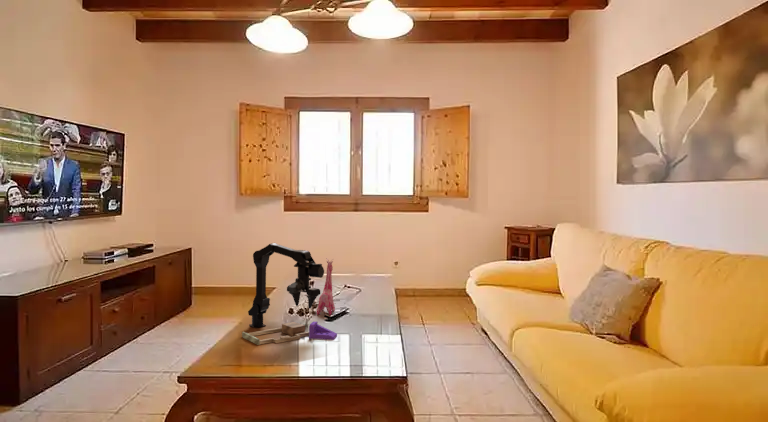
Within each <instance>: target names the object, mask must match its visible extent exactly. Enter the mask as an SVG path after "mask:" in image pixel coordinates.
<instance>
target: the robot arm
mask: <svg viewBox="0 0 768 422" xmlns="http://www.w3.org/2000/svg"><path fill="white" fill-rule="evenodd" d="M274 253H276V254H279V255H281V256H285V257H288V258H291V259H292V260H293V261H295V262H296V263H295V264H294V265H293V267H295V268H297V277H296V278H295V279H294V280H295V282H292V283H291V284H289V285H288V286H287V287H286V291H287V292H288V294H290V295H291V296H292V298H293V302H294V304H295V307H299V303H300V298H301V292H302V293H305V294H306V298H307V302H308V303H307V304H308V305H307V307H308V309H309V310H310V309H312V306H313V305H314V302H315V300H316V299H317V297H320V296H321V289H320V288H316V287H313V288H312V286H311V285H310V281H311V280H312V278H319V279H321V278H323V277H324V274H325V269H324V268H325V267H324V266H323V264H322V263H316V262H315V260H314V258H313V256H312V254H311V252H310V250H306V249H304V250H303V249H294V248H291V247H287V246H285V245H281V244H278V243H276V242H274V243H273V242H272V243H269V244H268V245H266V246H264V247H263V248H261V249H259V250H256V251H254V252H253V255H252V261H253V264H254V265H255V269H256V271H255V274H256V275H255V278H256V279H255V296H254V299H253V300H252V307H251V308H249V310H248V311H247V313H248V316H250V317H251V323H250V324H249V325H248V326H249V327H251V328H253V329H255V328H256V329H257V328H261V327H266V326H267V325H266V324H264V314H266V313H267V311H268V309H269V307H270V306H271V304H270V301H271V299H270V297H268V296H267V294H266V293H267V291H266V289H267V286H266V285H267V267H268V264H269V262H270V258H271V256H272V255H273V254H274ZM319 295H320V296H319Z"/></svg>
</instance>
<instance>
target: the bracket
mask: <svg viewBox="0 0 768 422" xmlns="http://www.w3.org/2000/svg"><path fill="white" fill-rule="evenodd" d="M308 328H309V329H308V332H309V336H308V339H313V340H314V339H315V340H316V339H318V340H331V341H332V340H335V339H336V338H337V337H338V333H337V332H335V331H334V330H331V329H329V328H327V327H324V326H322V325H321V324H318V321H312V322H311V323H309V326H308Z"/></svg>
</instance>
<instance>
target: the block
mask: <svg viewBox="0 0 768 422" xmlns="http://www.w3.org/2000/svg"><path fill="white" fill-rule="evenodd" d="M281 327H282V331H281V333H282V334H285V335H286V336H287V335H288V336H290V337H294V336H295V334H298V333H304V332H306V325H305V324H301V323H298V322H295V321H290V322H286V323H281Z"/></svg>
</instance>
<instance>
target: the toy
mask: <svg viewBox="0 0 768 422" xmlns="http://www.w3.org/2000/svg"><path fill="white" fill-rule="evenodd" d="M333 260H334V258H333V259H331V260H329V259H328V258H326V263H327V265H326V277H325V283H324V286H323V291H322V293H320V296H319V298H318V304H317V305H318V306H317V308H316V315H320V314H321V312H322V311H324V310H325V308H326V312H327V314H328V316H331V315H332V312H334V311H335V310H336V306H335V302H334V296H333V282H332V281H333V280H332V277H333V276H332V274H333V273H332V272H333V267H334V266H333V262H334V261H333Z"/></svg>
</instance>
